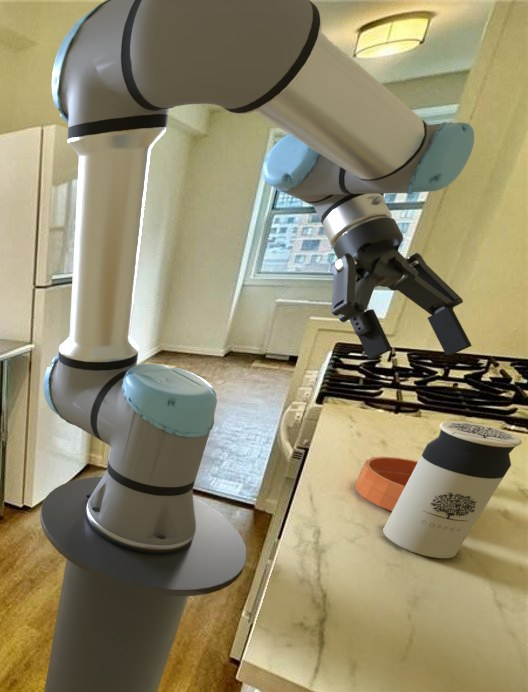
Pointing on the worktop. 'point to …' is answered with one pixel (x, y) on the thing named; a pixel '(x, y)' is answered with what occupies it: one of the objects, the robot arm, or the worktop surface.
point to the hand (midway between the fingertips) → (420, 352)
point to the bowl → (384, 480)
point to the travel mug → (450, 488)
